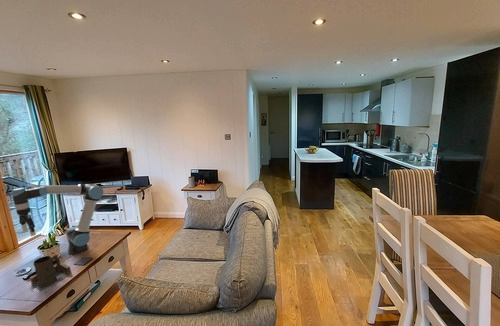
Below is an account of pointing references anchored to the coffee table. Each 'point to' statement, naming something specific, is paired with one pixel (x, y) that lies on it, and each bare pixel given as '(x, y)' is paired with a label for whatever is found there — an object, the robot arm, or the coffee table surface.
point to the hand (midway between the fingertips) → (29, 233)
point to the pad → (59, 277)
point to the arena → (62, 268)
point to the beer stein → (46, 270)
